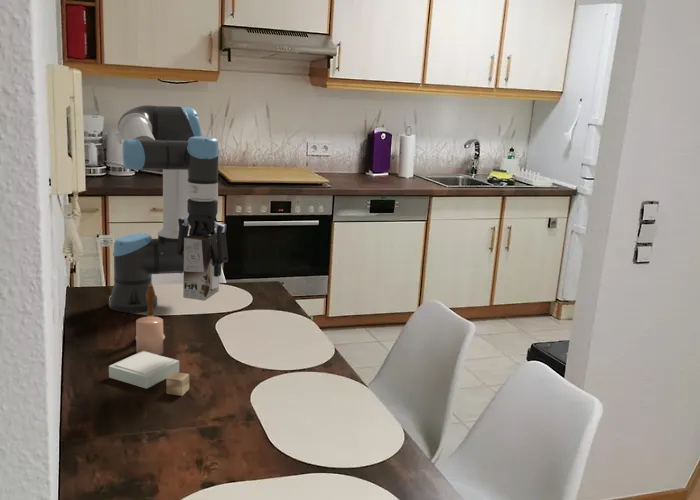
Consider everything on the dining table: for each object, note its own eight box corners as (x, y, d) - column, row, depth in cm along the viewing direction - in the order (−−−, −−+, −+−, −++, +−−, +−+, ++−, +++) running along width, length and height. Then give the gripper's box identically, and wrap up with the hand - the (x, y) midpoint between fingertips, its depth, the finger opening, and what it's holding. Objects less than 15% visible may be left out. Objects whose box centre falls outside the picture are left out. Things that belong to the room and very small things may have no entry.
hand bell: (169, 334, 196) (169, 282, 193) (158, 344, 188) (158, 290, 185) (142, 331, 197) (141, 279, 193) (130, 341, 189) (129, 287, 185)
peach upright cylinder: (130, 353, 181) (130, 321, 179) (148, 345, 187) (148, 314, 185) (151, 358, 178) (150, 327, 176) (168, 350, 184) (168, 319, 182)
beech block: (166, 393, 159) (166, 378, 158) (173, 387, 163) (173, 371, 162) (182, 396, 158) (182, 380, 157) (189, 389, 162) (189, 373, 161)
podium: (109, 377, 166) (108, 365, 165) (143, 361, 176) (142, 349, 175) (146, 388, 161) (146, 376, 160) (179, 371, 171) (179, 359, 171)
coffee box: (205, 301, 170) (206, 239, 166) (182, 298, 172) (182, 237, 168) (219, 291, 179) (220, 232, 175) (197, 288, 180) (198, 230, 176)
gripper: (161, 195, 170) (161, 281, 175) (226, 206, 162) (225, 295, 167) (180, 192, 177) (180, 274, 182) (244, 202, 168) (242, 288, 174)
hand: (201, 284), depth 175 cm, fingers closed on coffee box, 7 cm apart
